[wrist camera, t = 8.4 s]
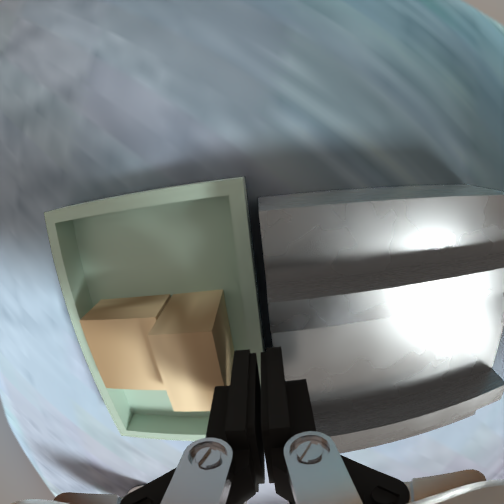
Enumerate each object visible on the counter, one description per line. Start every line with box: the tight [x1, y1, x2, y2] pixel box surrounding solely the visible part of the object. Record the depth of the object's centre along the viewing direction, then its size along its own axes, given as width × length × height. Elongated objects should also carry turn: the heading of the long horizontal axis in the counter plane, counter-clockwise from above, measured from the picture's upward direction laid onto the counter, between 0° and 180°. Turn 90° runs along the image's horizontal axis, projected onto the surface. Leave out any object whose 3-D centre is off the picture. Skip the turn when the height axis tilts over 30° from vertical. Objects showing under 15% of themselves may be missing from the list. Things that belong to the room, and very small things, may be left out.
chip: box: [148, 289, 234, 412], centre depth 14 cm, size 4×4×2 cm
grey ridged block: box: [258, 184, 504, 453], centre depth 12 cm, size 11×12×6 cm
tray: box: [44, 176, 265, 441], centre depth 15 cm, size 10×14×2 cm
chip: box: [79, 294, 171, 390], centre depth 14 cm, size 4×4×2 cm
